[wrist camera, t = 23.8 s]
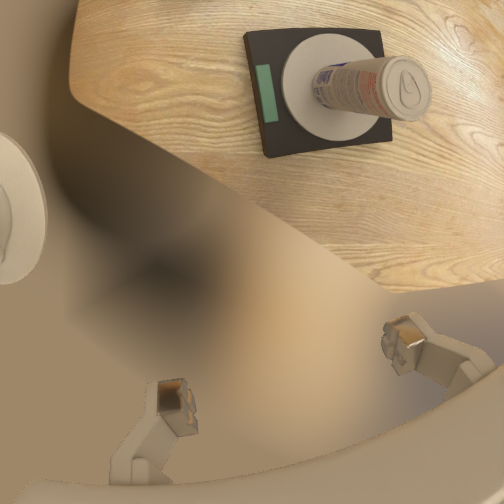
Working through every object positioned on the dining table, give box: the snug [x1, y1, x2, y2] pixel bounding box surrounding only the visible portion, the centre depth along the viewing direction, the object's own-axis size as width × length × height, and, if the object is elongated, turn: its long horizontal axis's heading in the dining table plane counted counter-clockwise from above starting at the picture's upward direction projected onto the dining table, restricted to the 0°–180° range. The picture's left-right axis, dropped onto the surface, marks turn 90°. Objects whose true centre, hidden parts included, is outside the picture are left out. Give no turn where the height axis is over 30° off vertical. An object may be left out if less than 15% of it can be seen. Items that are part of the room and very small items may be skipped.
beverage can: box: [313, 56, 432, 122], centre depth 26 cm, size 6×6×15 cm
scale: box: [243, 28, 392, 158], centre depth 34 cm, size 18×16×4 cm
